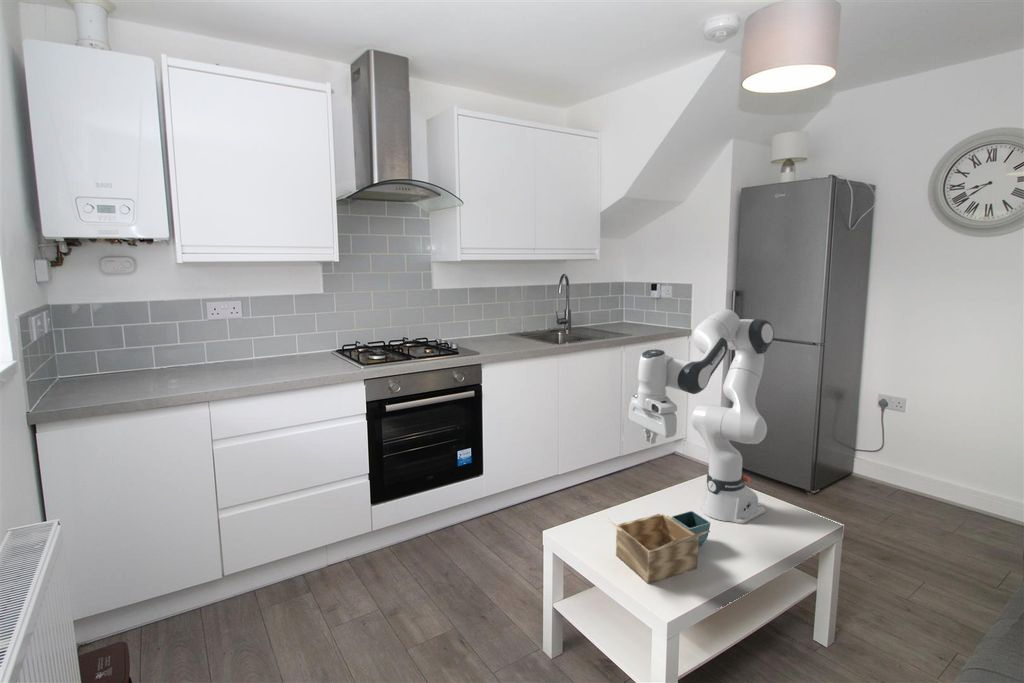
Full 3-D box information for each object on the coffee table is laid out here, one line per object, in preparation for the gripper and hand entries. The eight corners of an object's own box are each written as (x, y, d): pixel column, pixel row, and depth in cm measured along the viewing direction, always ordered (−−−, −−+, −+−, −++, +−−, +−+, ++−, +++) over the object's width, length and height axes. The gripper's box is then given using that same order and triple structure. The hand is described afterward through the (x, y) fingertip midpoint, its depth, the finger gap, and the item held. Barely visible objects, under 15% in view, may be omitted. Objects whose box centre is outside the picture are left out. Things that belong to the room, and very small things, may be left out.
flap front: (605, 517, 158) (604, 518, 158) (621, 530, 151) (620, 531, 151) (624, 531, 162) (623, 532, 162) (640, 544, 155) (639, 545, 155)
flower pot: (688, 555, 167) (689, 528, 165) (669, 541, 175) (670, 516, 173) (710, 548, 170) (711, 522, 169) (690, 535, 178) (691, 510, 177)
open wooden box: (662, 540, 175) (663, 512, 173) (698, 567, 160) (700, 537, 158) (614, 554, 168) (615, 525, 166) (648, 584, 153) (649, 552, 151)
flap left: (709, 530, 150) (710, 531, 150) (691, 538, 157) (692, 540, 157) (672, 541, 145) (673, 542, 145) (656, 549, 152) (656, 550, 152)
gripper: (624, 394, 178) (623, 433, 181) (664, 410, 160) (662, 454, 162) (639, 391, 181) (638, 430, 183) (681, 407, 162) (679, 450, 164)
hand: (650, 442), depth 172 cm, fingers closed
